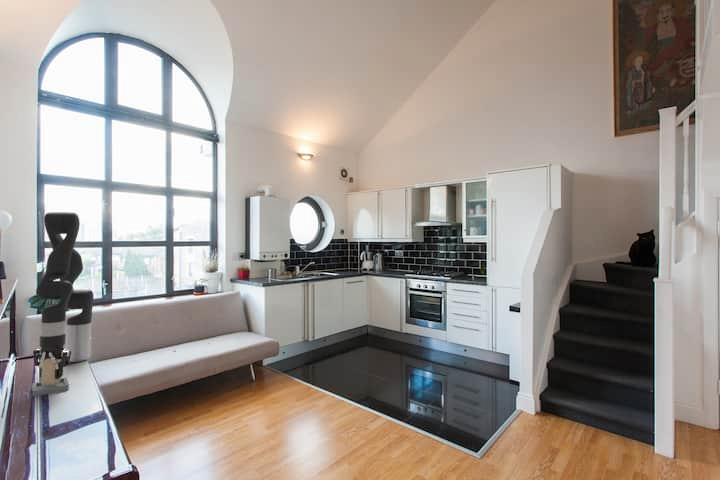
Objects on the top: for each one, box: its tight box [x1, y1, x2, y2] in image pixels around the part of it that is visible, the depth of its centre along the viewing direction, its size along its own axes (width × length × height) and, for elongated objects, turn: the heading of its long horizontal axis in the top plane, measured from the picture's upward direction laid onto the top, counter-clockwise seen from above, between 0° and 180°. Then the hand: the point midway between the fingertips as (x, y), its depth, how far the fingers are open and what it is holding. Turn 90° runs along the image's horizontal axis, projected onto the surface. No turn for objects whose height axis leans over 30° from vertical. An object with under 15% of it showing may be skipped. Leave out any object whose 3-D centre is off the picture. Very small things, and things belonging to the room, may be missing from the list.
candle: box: [40, 358, 60, 386], centre depth 135 cm, size 6×6×10 cm
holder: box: [31, 376, 70, 398], centre depth 135 cm, size 10×10×2 cm
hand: (51, 377), depth 135 cm, fingers closed on candle, 5 cm apart
